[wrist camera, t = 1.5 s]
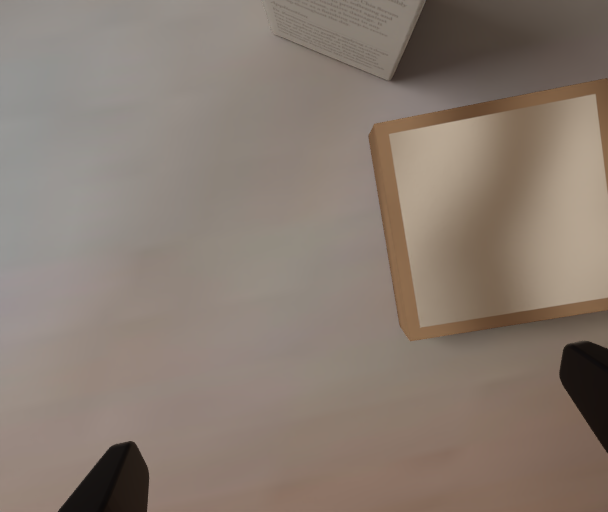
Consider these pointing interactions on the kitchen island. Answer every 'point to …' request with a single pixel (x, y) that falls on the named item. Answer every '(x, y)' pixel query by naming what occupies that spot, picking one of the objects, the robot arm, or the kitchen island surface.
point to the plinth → (496, 210)
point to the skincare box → (349, 29)
